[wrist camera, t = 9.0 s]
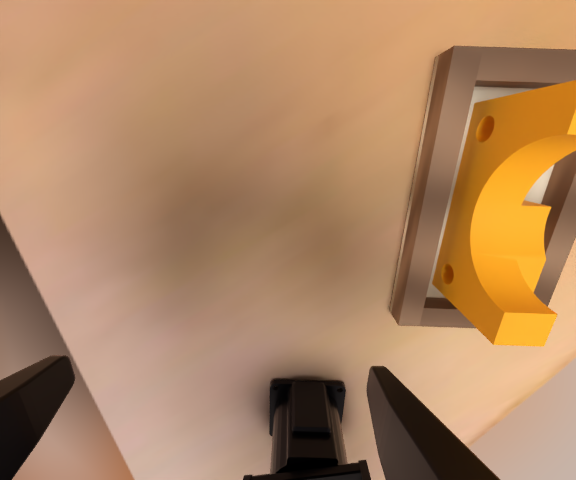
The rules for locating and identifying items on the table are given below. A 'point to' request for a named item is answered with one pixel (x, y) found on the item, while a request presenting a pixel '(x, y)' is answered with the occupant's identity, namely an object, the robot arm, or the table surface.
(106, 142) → the table surface
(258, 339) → the table surface
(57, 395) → the robot arm
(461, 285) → the pipe clamp
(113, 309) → the table surface
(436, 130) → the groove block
